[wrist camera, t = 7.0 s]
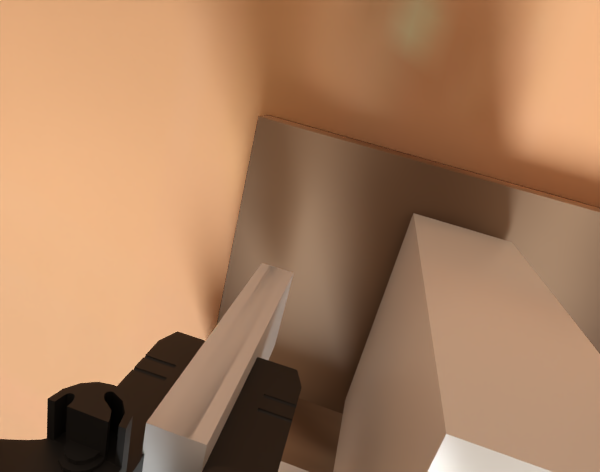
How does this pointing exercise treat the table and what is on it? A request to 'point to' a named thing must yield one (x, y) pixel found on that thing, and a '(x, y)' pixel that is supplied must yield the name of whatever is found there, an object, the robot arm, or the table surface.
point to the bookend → (470, 367)
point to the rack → (377, 253)
